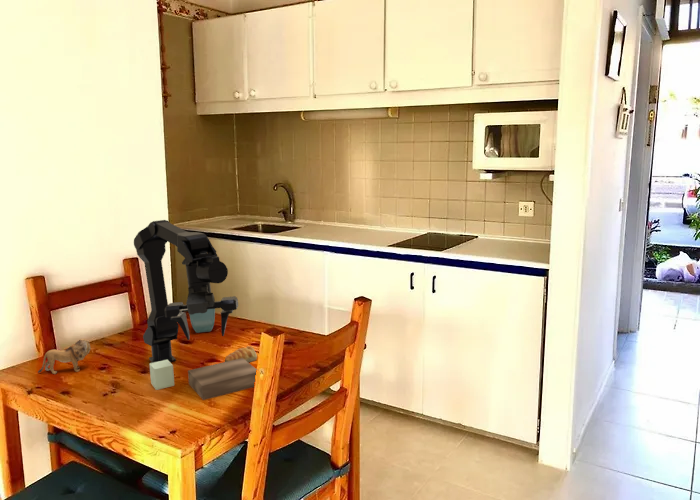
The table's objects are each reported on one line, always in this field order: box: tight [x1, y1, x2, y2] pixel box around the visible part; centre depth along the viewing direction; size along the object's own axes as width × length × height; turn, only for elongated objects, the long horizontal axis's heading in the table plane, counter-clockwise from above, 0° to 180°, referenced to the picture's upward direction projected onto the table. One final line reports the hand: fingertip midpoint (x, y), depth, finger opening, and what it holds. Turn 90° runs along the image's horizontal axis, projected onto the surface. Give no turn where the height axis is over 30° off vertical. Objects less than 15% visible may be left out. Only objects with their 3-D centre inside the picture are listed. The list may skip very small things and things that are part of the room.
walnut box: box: [187, 358, 258, 401], centre depth 161 cm, size 12×16×4 cm
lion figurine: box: [37, 338, 92, 375], centre depth 172 cm, size 15×5×9 cm, turn 110°
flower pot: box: [188, 308, 216, 334], centre depth 206 cm, size 9×9×9 cm
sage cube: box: [149, 359, 175, 391], centre depth 162 cm, size 5×5×6 cm
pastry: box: [224, 345, 258, 363], centre depth 178 cm, size 9×7×4 cm
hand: (205, 337), depth 159 cm, fingers open, 9 cm apart
